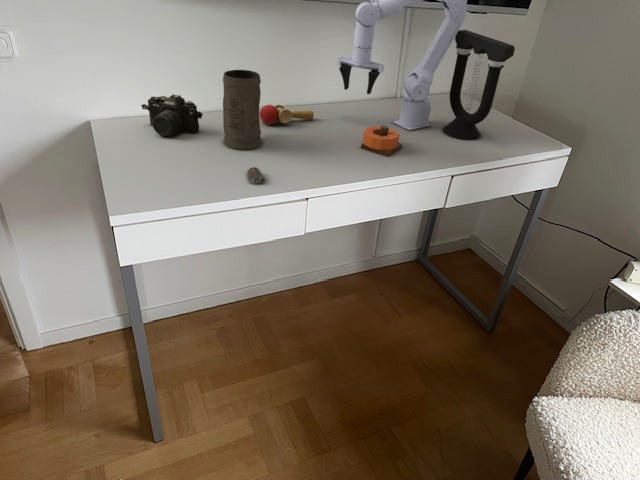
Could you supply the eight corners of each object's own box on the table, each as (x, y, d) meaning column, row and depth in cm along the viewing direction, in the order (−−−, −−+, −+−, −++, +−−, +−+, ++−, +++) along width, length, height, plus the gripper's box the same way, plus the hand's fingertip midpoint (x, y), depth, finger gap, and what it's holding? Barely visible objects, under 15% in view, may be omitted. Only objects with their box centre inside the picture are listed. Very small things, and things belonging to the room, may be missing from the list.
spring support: (429, 125, 167) (448, 30, 150) (456, 121, 172) (478, 29, 156) (471, 148, 152) (498, 46, 135) (500, 143, 157) (529, 44, 141)
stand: (375, 139, 153) (378, 118, 149) (401, 147, 149) (405, 126, 145) (360, 147, 146) (363, 126, 143) (388, 156, 142) (391, 135, 139)
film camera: (135, 137, 140) (130, 102, 135) (146, 121, 150) (142, 89, 145) (199, 141, 141) (197, 106, 136) (206, 125, 152) (204, 93, 146)
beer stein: (253, 153, 137) (255, 79, 127) (217, 147, 138) (216, 73, 129) (269, 137, 150) (272, 69, 140) (235, 132, 152) (236, 64, 142)
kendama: (303, 118, 167) (254, 116, 158) (308, 101, 163) (258, 98, 154) (313, 130, 162) (262, 129, 153) (318, 113, 158) (267, 110, 149)
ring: (380, 134, 153) (382, 123, 151) (404, 146, 147) (406, 135, 145) (356, 140, 147) (357, 129, 146) (379, 152, 141) (381, 141, 139)
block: (258, 172, 127) (259, 166, 126) (265, 183, 123) (265, 176, 122) (245, 174, 126) (245, 167, 125) (251, 184, 122) (251, 178, 121)
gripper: (335, 44, 149) (331, 89, 157) (381, 52, 145) (375, 98, 152) (344, 41, 155) (339, 84, 162) (388, 48, 151) (382, 93, 158)
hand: (357, 91), depth 158 cm, fingers open, 7 cm apart
